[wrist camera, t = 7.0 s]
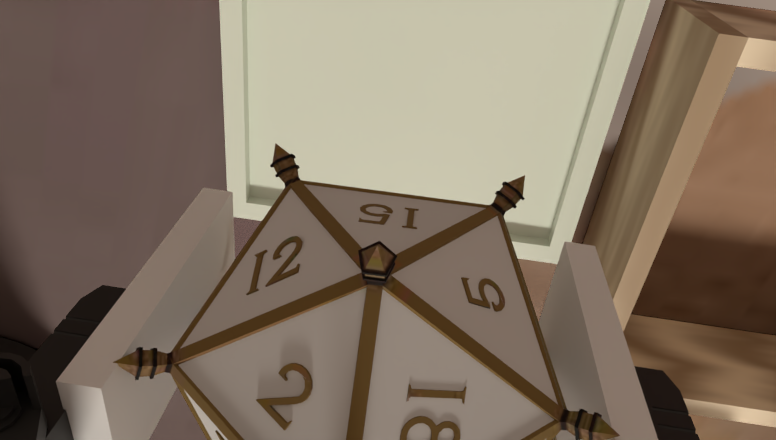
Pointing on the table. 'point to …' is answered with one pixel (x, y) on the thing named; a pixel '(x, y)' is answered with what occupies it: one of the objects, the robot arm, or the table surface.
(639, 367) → the robot arm
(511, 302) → the game die
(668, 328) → the birch crate
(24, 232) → the table surface
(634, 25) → the tray
